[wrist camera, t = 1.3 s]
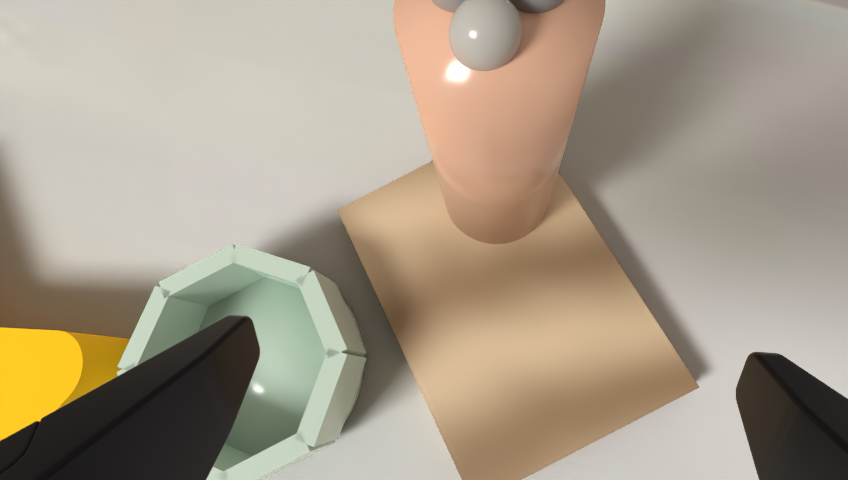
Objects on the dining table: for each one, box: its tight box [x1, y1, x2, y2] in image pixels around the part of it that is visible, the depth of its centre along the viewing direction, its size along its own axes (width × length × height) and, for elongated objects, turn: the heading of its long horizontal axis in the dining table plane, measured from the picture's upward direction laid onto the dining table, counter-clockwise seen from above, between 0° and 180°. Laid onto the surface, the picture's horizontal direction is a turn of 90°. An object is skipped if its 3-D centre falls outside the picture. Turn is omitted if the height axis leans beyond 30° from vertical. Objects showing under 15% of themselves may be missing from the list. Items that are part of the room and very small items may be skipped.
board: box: [337, 161, 699, 480], centre depth 22 cm, size 14×10×1 cm
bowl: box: [117, 244, 367, 480], centre depth 21 cm, size 9×9×4 cm
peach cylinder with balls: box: [393, 0, 605, 244], centre depth 16 cm, size 5×5×13 cm
